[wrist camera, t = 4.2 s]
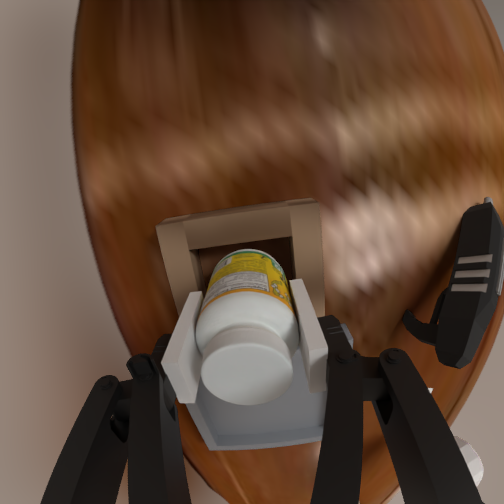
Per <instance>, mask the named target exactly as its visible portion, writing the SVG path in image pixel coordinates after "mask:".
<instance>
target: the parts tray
mask: <svg viewBox="0 0 504 504" xmlns="http://www.w3.org/2000/svg"><path fill="white" fill-rule="evenodd" d="M341 327H342V328H343V330H344V332H345V334H346V337H347V339H348V341H349V343H350V345H351V347H352V349H353V338H352V336H351V334H350V332H349V330H348V328H347V326H346V324H341ZM292 366H293V379H292V382H291V385H290V386H289V388H288V389H287V390H286V391H285V392H284V393H283V394H282V395H281V396H280V397H278V398H276V399H275V400H272V401H270V402H267V403H263V404H258V405H238V404H233V403H230V402H226V401H224V400H222V399H220V398H218V397H216V396H215V395H213V394H212V393H211V392H210V391H209V390H208V389H207V388H206V387H205V385H204V383H203V381H202V378H201V375H200V380H199V385H198V390H197V395H196V399H195V403H185V404H186V406H187V408H188V410H189V412H190V414H191V416H192V418H193V420H194V422H195V424H196V426H197V428H198V430H199V432H200V434H201V436H202V437H203V439H204V441H205V443H206V445H207V446H208V448H209V450H246V449H261V448H273V447H282V446H290V445H297V444H304V443H310V442H316V441H321V440H322V435H323V427H324V419H325V411H326V402H327V392H328V388H327V384H326V391H322V392H317V393H311V394H310V392H309V387H308V383H307V378H306V374H305V369H304V365H303V360H302V356H301V352H300V347H299V345H298V347H297V350H296V352H295V354H294V356H293V357H292Z"/></svg>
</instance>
